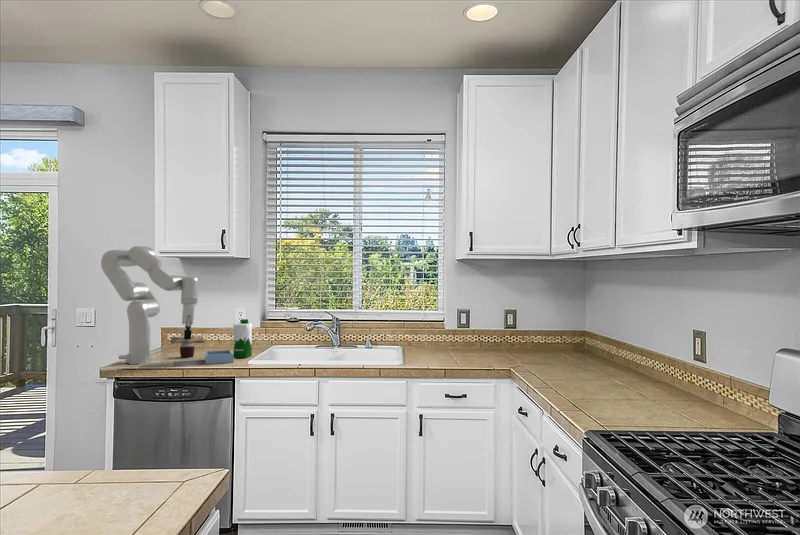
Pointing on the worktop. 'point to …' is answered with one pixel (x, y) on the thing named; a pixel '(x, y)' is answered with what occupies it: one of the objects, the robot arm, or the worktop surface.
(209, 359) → the dish
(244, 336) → the milk carton
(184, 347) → the mate gourd
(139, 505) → the worktop surface
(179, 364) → the mat
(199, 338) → the lid
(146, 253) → the robot arm
